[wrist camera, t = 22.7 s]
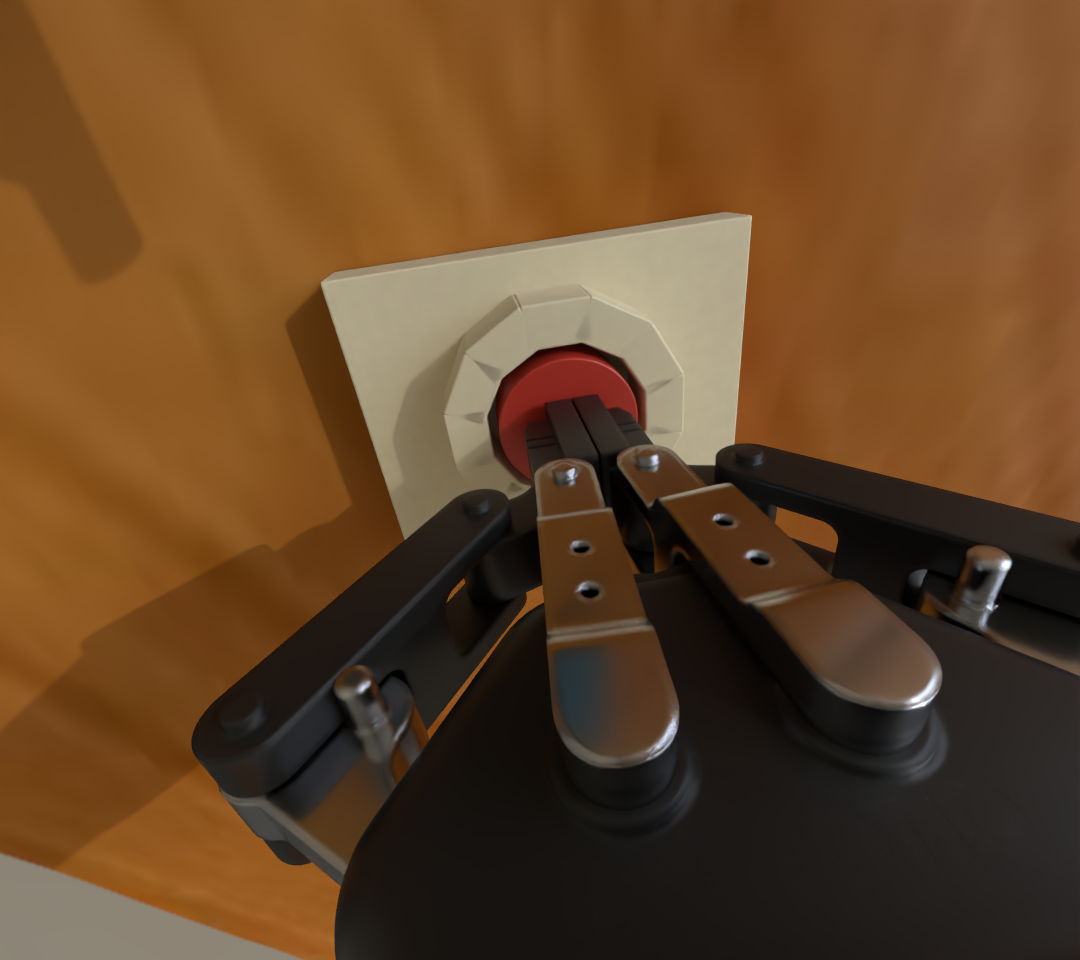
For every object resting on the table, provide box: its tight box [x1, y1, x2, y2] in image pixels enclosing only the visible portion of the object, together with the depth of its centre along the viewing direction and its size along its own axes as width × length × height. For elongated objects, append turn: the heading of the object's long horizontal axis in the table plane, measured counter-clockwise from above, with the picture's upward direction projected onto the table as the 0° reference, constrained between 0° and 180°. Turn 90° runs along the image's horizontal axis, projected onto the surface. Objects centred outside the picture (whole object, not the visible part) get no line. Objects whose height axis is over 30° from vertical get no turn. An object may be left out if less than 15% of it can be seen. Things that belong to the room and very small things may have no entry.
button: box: [496, 343, 638, 480], centre depth 15 cm, size 4×4×2 cm
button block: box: [320, 212, 752, 540], centre depth 16 cm, size 12×9×4 cm
